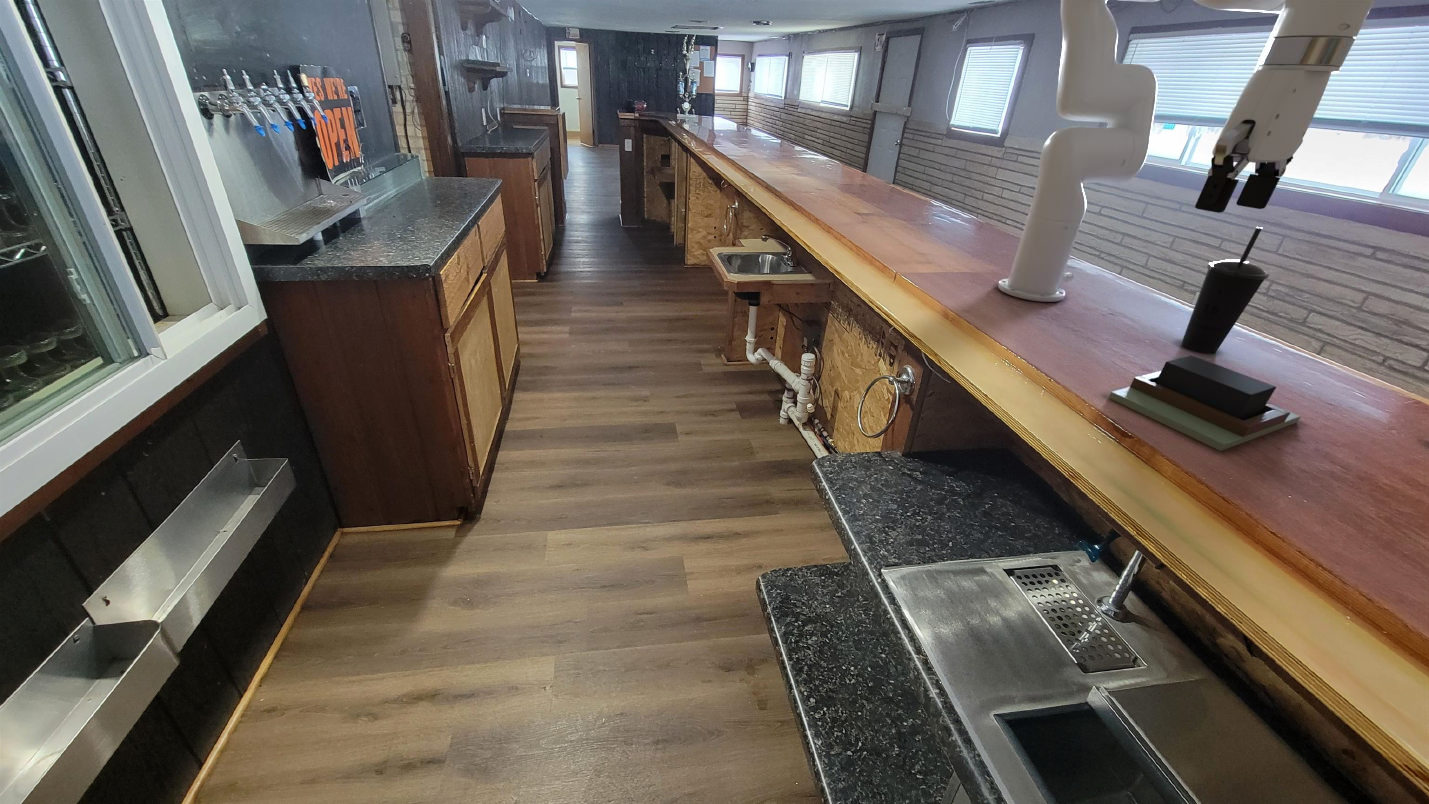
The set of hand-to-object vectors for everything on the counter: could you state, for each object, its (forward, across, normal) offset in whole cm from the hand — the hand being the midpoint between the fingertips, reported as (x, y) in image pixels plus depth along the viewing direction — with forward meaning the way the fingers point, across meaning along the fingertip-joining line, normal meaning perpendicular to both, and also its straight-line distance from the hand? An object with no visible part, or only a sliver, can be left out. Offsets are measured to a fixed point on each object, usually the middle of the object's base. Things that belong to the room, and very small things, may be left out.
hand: (1229, 208), depth 75 cm
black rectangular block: (+23, +6, +10) cm, 26 cm away
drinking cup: (+24, -18, -3) cm, 30 cm away
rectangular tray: (+24, +6, +10) cm, 27 cm away
